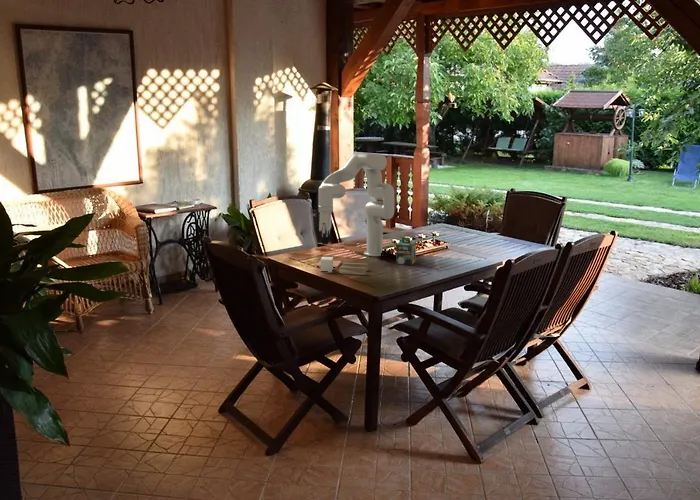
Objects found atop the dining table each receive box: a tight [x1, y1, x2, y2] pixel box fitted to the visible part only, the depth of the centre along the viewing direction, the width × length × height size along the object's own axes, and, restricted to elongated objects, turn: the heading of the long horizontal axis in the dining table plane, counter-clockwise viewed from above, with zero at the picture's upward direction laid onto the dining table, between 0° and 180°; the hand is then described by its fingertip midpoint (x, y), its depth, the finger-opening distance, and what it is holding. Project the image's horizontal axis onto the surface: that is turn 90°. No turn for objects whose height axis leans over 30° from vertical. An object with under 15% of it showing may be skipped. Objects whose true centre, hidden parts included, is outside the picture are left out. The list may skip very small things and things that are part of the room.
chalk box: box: [395, 236, 417, 266], centre depth 365 cm, size 9×9×15 cm
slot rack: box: [338, 262, 369, 276], centre depth 347 cm, size 10×14×4 cm
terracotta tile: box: [315, 259, 342, 269], centre depth 362 cm, size 12×12×1 cm
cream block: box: [320, 256, 334, 273], centre depth 348 cm, size 6×6×7 cm
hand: (326, 242), depth 346 cm, fingers open, 4 cm apart
